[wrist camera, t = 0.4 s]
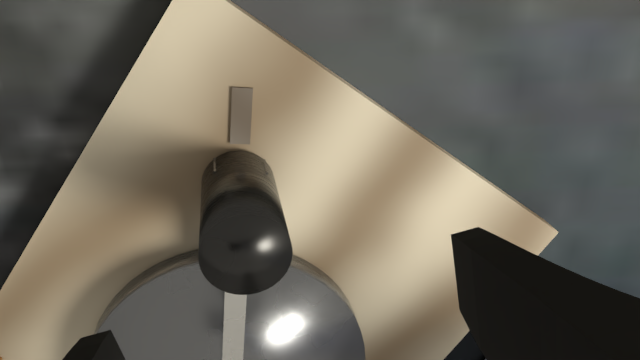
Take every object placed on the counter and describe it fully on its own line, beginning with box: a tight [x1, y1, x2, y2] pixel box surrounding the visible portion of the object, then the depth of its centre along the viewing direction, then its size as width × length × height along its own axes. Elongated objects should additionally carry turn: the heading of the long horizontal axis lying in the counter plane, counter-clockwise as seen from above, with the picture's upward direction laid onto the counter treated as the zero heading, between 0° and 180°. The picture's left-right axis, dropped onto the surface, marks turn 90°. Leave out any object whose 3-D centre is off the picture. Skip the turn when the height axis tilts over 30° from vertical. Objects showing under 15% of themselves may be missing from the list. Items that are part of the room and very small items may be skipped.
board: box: [0, 0, 558, 360], centre depth 23 cm, size 18×24×1 cm
